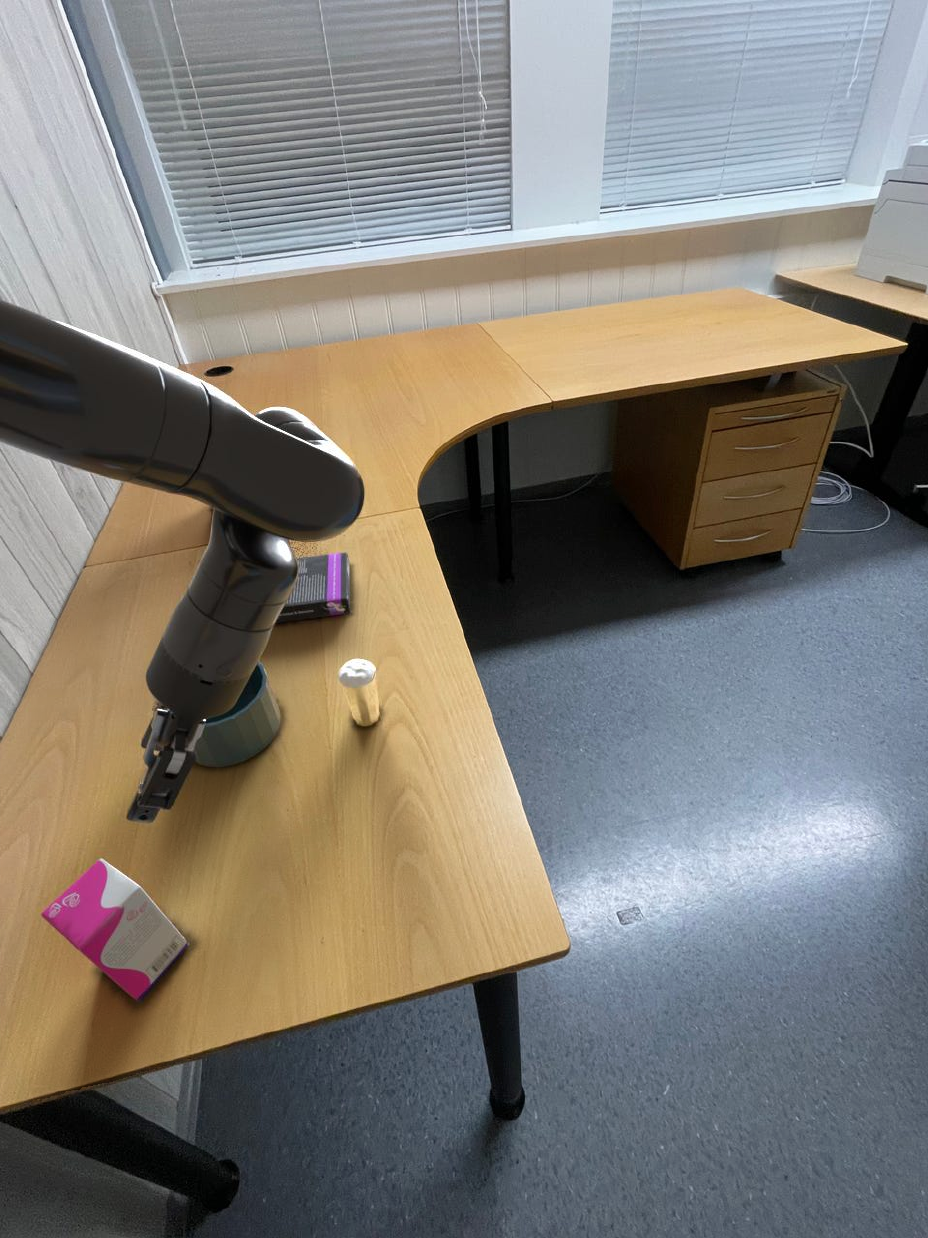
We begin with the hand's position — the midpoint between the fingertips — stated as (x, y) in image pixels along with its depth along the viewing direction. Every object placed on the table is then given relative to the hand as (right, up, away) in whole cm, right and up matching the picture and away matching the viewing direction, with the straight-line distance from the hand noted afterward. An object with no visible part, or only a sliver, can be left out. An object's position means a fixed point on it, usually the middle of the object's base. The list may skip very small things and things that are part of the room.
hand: (146, 781), depth 55 cm
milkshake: (+17, +2, +23) cm, 29 cm away
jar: (-1, +1, +23) cm, 23 cm away
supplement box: (-1, -17, +2) cm, 17 cm away
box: (+1, +18, +44) cm, 48 cm away
